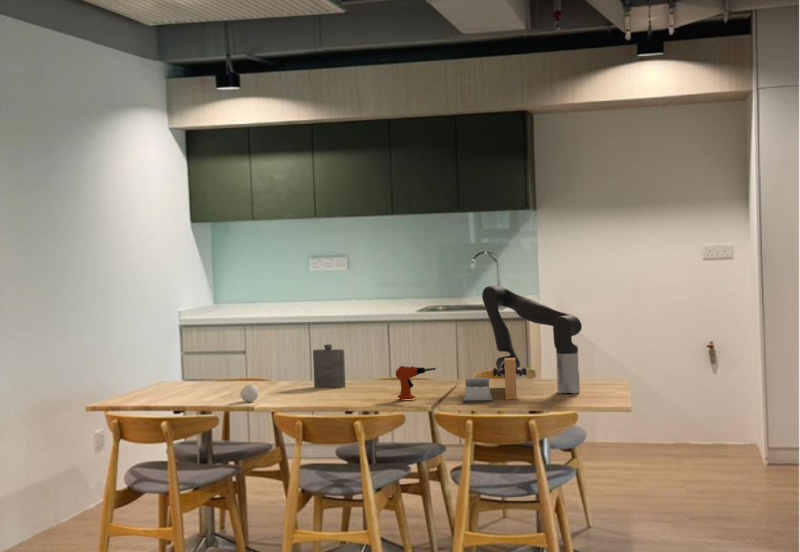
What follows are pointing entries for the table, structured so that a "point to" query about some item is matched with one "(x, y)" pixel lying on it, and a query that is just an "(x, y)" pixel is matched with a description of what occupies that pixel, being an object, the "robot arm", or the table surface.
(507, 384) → the orange block
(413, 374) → the toy drill
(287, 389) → the table surface
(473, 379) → the block
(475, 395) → the vise
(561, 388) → the robot arm
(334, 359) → the flask
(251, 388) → the gray round stone
